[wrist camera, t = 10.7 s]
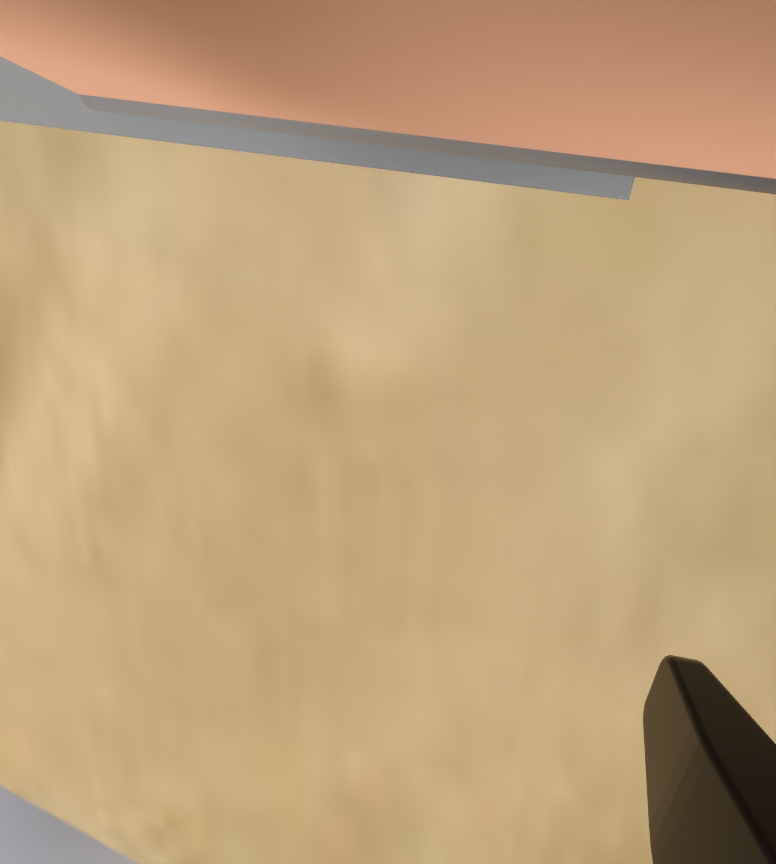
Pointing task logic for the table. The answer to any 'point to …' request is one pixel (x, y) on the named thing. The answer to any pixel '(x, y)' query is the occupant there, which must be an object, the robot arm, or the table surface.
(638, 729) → the table surface
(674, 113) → the latch flap
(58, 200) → the table surface
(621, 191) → the hitch block
